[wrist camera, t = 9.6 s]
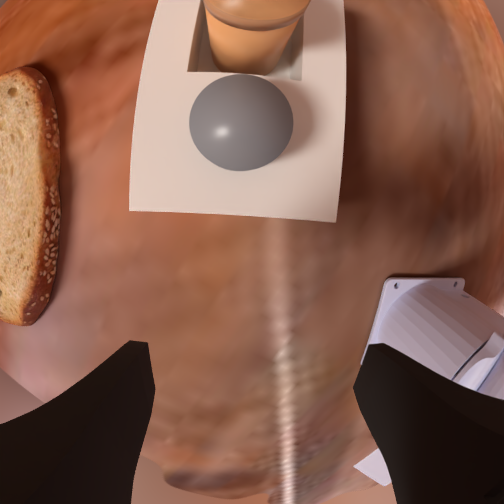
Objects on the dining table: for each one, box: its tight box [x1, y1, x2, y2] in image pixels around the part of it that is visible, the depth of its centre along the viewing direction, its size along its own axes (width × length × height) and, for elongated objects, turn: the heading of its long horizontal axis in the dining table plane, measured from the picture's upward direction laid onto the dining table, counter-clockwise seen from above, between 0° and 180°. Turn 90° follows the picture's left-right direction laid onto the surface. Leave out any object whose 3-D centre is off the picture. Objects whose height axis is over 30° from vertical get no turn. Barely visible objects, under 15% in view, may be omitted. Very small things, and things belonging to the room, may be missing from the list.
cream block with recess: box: [129, 0, 346, 223], centre depth 11 cm, size 10×14×6 cm
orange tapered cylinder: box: [203, 0, 311, 76], centre depth 9 cm, size 4×4×7 cm
